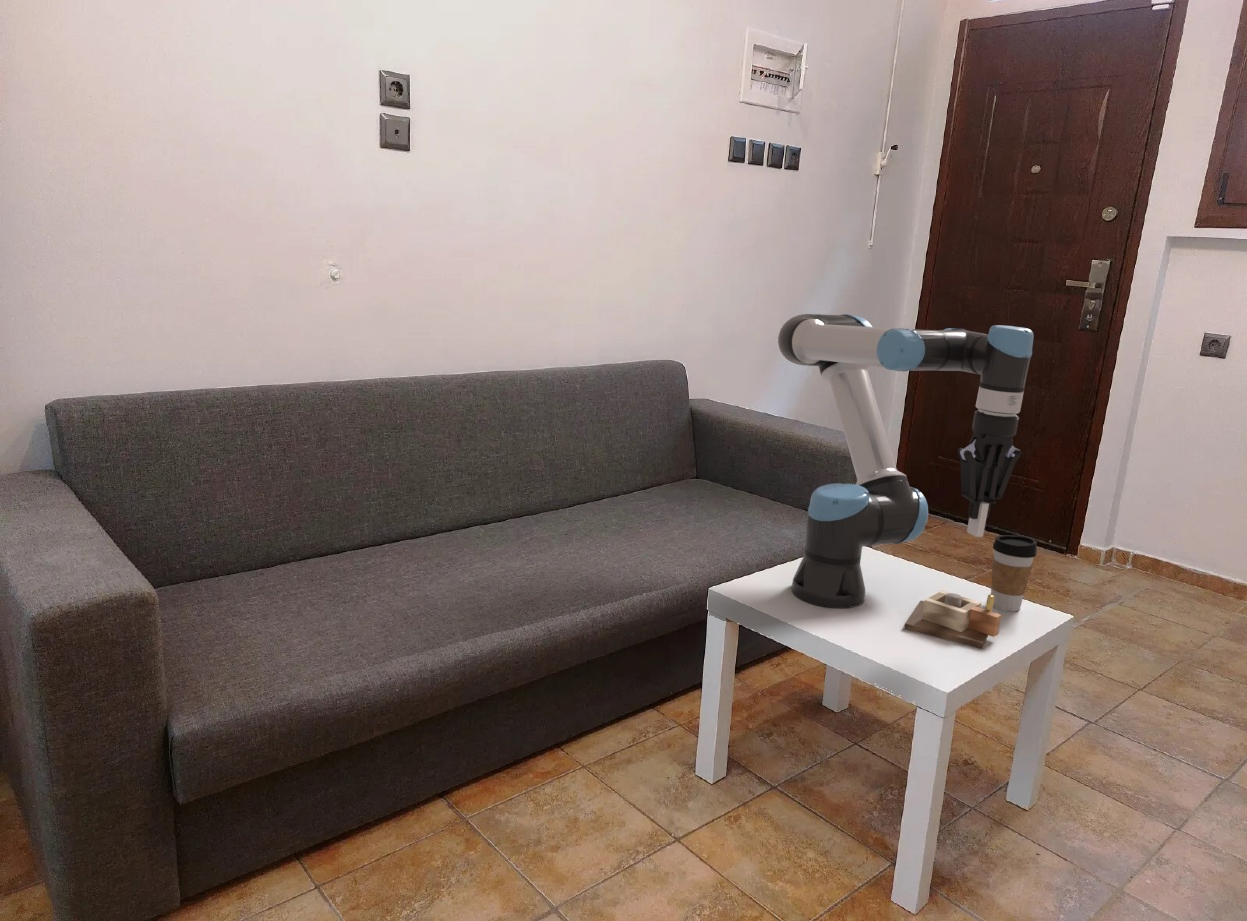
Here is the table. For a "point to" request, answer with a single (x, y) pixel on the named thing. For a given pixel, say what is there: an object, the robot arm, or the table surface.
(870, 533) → the robot arm
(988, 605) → the dowel
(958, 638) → the base
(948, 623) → the hollow square frame
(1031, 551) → the coffee cup
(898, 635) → the table surface
